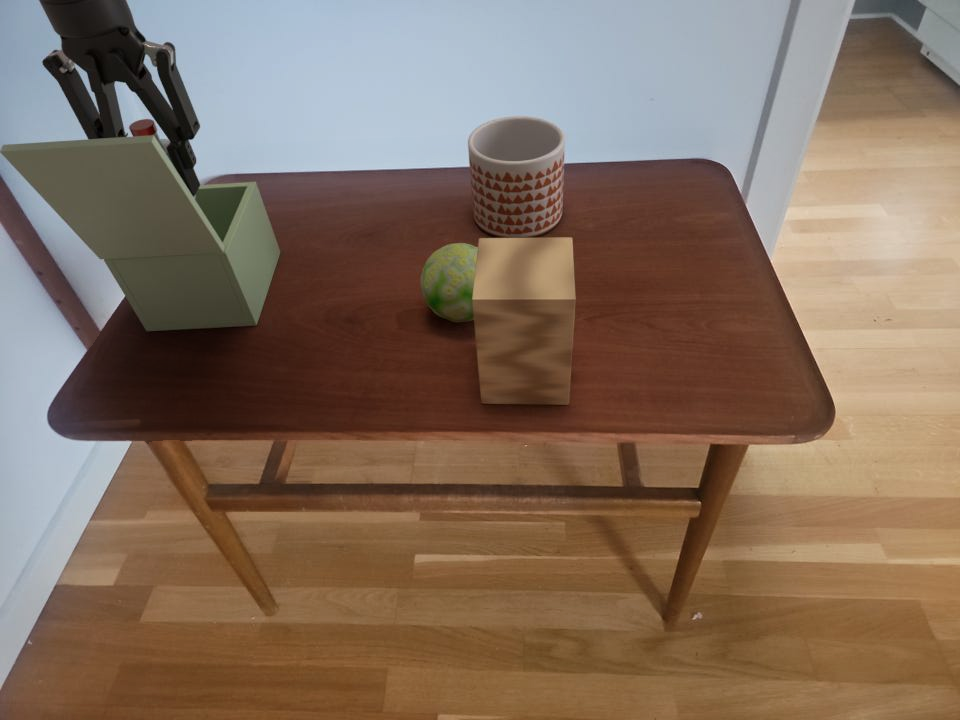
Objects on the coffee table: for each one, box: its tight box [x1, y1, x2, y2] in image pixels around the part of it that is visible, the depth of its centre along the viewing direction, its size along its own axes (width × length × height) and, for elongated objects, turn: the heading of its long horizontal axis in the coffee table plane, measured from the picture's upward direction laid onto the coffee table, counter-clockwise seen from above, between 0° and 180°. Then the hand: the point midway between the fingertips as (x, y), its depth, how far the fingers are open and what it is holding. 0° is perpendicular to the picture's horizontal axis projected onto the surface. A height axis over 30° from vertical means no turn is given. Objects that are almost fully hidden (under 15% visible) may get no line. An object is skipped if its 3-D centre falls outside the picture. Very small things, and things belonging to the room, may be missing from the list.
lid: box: [0, 135, 225, 260], centre depth 70 cm, size 17×15×1 cm
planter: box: [467, 115, 566, 238], centre depth 95 cm, size 14×14×13 cm
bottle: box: [128, 118, 196, 199], centre depth 77 cm, size 5×5×10 cm
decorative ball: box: [419, 242, 478, 323], centre depth 82 cm, size 10×10×10 cm
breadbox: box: [103, 181, 281, 332], centre depth 87 cm, size 16×15×12 cm
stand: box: [472, 236, 577, 406], centre depth 71 cm, size 10×10×16 cm
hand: (172, 191), depth 80 cm, fingers closed on bottle, 5 cm apart
